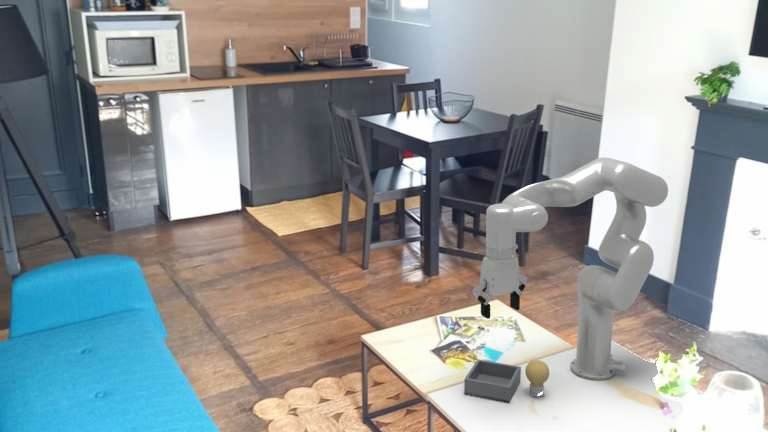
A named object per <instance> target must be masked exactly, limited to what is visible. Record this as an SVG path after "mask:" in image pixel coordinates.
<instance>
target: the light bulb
mask: <svg viewBox="0 0 768 432" xmlns="http://www.w3.org/2000/svg"><path fill="white" fill-rule="evenodd" d="M524 372H525V376H526V379H527V380H528V382H529V394H530V395H531V396H532V397H534V398H537V397H536V396H537V395H538V393H540V392H542V391H543V392H544V390H545V389H544V387H545V385H544V384H545V383H546V382H547V381H548V379H549V377H550V368H549V366H548V364H547V363H546V362H544V361H542V360H538V359H534V360H531V361H530V362H528V363H527V364H526V367H525V370H524Z"/></svg>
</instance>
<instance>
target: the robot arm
mask: <svg viewBox="0 0 768 432" xmlns="http://www.w3.org/2000/svg"><path fill="white" fill-rule="evenodd" d="M604 191H605V192H606V191H607V192H611V193H613V194H614V197H615V203H616V204H615V205H616V209H615V210H616V211H615V214H614V216H613V219H612V221H611V223H610V224H609V227H608V229H607V231H606V233H605V235H604V236H603V238H602V241H601V242H600V243H599V244H600V245H599V247H598V250H597V251H598V252H597V254H598V257H599V258H600V260H601V261H602V262H604V263H606V264H607V265H609V266H612V267H613V268H615V269H618V271H617V272H615V271H612V270H611V269H608V268H606V267H603V266H600V265H596V264H595V265H594V264H589V265H587V266H584V267H583V268H582V269H581V270H580V272H579V273H578V275H577V277H576V278H577V279H576V290H577V297H578V298H577V299H578V319H577V322H578V323H577V336H576V337H577V340H576V354H575V355H576V356H575V357H576V358H575V359H573V360H571V361H570V365H569V367H570V371H571V372H572V373H573V374H575V375H576V376H578V377H580V378H583V379H588V380H595V381H599V380H600V381H601V380H607V379H610V378H612V377H613V376H615V374H616V371H620V372H623V373H625V372H626V371H627V365H626V364H624V363H623V360H615V359H614V358H613V354H612V340H613V339H612V338H613V326H614V312H623V311H626V310H628V309H629V308H630V307H631V306H632V305H633V304H634V302H635V300H636V299H637V298H638V295H639V293H640V291H641V289H642V287H643V286H644V283H645V281H646V279H647V278H648V276H649V274H650V272H651V270H652V267H653V265H654V258H655V256H654V250H653V248H652V247H651V246H650V245H649V243H647V242H645V241H644V240H641V239H640V238H641V236H642V233H643V231H644V229H645V227H646V223H647V210H646V207H649V208H654V207H658V206H660V205H662V204H663V203H664V202H665V200H666V199H667V197H668V194H669V187H668V184H667V182H666V180H665V179H664V178H663V177H661V176H659V175H657V174H655V173H652V172H650V171H647V170H646V169H643V168H641V167H639V166H636V165H633V164H632V163H629V162H626V161H622V160H619V159H614V158H609V157H598V158H596V159H594V160H592V161H590V162H588V163H586V164H584V165H582V166H581V167H579V168H577V169H575V170H573V171H571V172H568V173H567V174H565V175H564V176H561V177H557V178H552V179H548V180H543V181H540V182H535V183H532V184H529V185H527V186H523V187H522V188H519V189H518V190H515V191H514V192H512V193H511V194H508V196H506V198H504V199H503V200H502V202H501V203H495V204H494V203H493V204H491V205H489V206H488V207H487V208H486V212H485V213H486V215H485V216H486V217H485V220H486V221H485V223H486V224H485V225H486V226H485V228H486V229H485V231H486V232H485V233H486V234H485V239H486V240H485V242H486V243H485V250H486V251H485V256H484V257H483V259H482V262H481V268H480V279H479V283H478V284H477V285H476V286H475V287H474V288H473V289H472V290H471V291H472V293H473V296H474V298H475V299H476V300H477V301H478V302H479V303H480V314H481V316H482V317H483V318H485V319H488V320H490V318H491V304H490V301H492V299H493V297H497V296H503V295H505V294H509V293H510V295H509V296H510V297H509V298H510V299H509V307H510V308H512V309H514V310H516V311H519V310H520V305H521V304H520V303H521V296H522V295H523V291H524V290H525V288H526V284H527V282H528V278H529V277H527V276H526V275H523V274H521V273H520V264H519V258H518V255H517V254H516V250H517V249H518V248H519V245H518V243H516V242H517V241H516V240H517V234H516V233H533V232H538V231H540V230H542V229H543V228H544V227H545V226H546V225H547V223H548V221H549V220H548V219H549V214H548V211H547V210H546V208H548V207H550V208H551V207H555V208H556V207H558V208H560V207H561V208H564V207H565V208H569V207H576V206H579V205H580V204H582V203H585V202H586V201H588V200H589V199H592V198H594V197H595V196H597V195H598V194H601V193H602V192H604Z"/></svg>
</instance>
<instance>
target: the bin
mask: <svg viewBox="0 0 768 432" xmlns="http://www.w3.org/2000/svg"><path fill="white" fill-rule="evenodd" d="M521 371H522V367H521V366H518V365H513V364H507V363H501V362H497V361H490V360H484V359H477V360H476V361H475V362H474V364H473V366H472V367H471V368H470V369H469V372H468V373H467V374H466V375H465V378H464V381H463V383H464V386H463V389H464V391H463V395H464V394H465V395H464V396H468V395H469V397H475V398H478V397H479V398H478V399H483V398H484V400H489V401H495V402H499V403H505V404H510V403H511V401H512V400H513V398H514V395H515V394H516V391H517V389H518V387H519V386H520V384H521V376H522V372H521Z"/></svg>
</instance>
